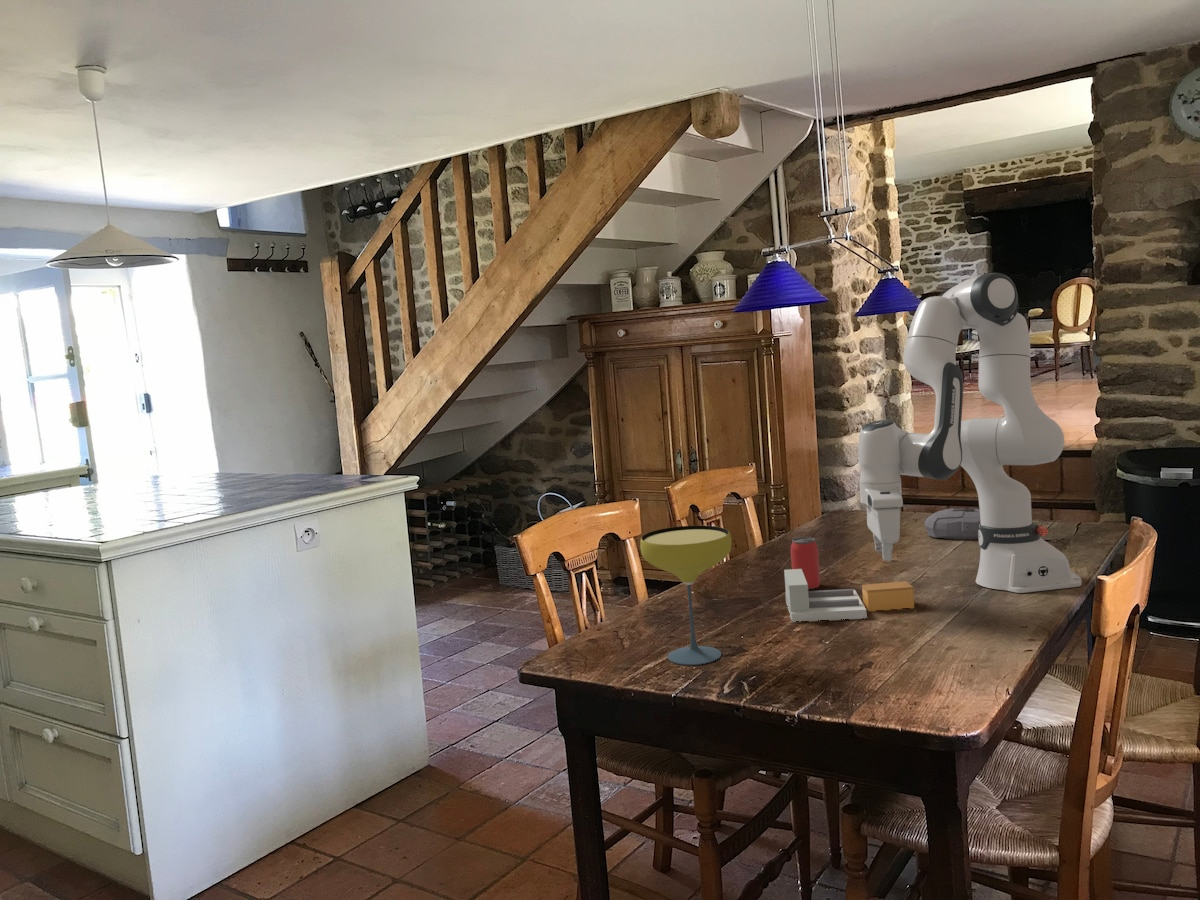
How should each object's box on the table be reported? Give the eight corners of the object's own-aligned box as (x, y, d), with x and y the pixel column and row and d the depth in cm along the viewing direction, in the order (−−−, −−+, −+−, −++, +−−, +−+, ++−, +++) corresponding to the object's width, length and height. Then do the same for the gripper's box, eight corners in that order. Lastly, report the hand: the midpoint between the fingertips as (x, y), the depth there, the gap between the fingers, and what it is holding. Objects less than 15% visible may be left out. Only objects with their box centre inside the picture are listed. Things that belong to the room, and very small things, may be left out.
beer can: (820, 590, 229) (817, 541, 227) (793, 591, 230) (790, 543, 229) (819, 583, 235) (817, 536, 234) (793, 583, 236) (790, 537, 235)
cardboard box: (907, 602, 213) (906, 581, 212) (914, 608, 208) (913, 586, 208) (863, 606, 213) (862, 584, 213) (868, 612, 208) (867, 590, 208)
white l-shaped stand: (855, 598, 219) (853, 564, 218) (866, 618, 204) (864, 582, 203) (786, 601, 221) (783, 568, 220) (791, 622, 206) (789, 586, 205)
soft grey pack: (999, 530, 275) (927, 530, 283) (998, 502, 274) (926, 503, 282) (997, 542, 261) (922, 541, 269) (996, 512, 260) (920, 513, 268)
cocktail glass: (738, 671, 179) (728, 542, 176) (644, 673, 182) (633, 547, 179) (740, 640, 197) (732, 523, 194) (655, 642, 200) (645, 527, 197)
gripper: (859, 488, 219) (861, 547, 220) (873, 501, 198) (876, 566, 200) (886, 487, 218) (889, 546, 219) (904, 500, 198) (906, 565, 199)
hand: (883, 555), depth 209 cm, fingers open, 8 cm apart
